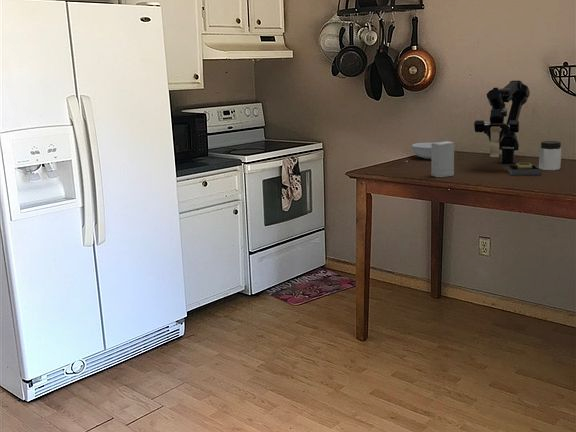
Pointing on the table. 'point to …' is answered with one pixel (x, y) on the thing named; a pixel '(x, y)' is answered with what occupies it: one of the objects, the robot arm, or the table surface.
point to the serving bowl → (423, 150)
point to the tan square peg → (494, 141)
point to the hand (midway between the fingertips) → (494, 141)
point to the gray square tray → (523, 169)
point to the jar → (550, 155)
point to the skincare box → (442, 159)
